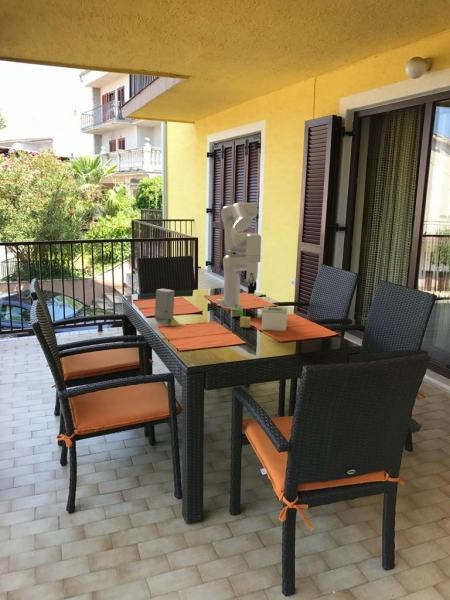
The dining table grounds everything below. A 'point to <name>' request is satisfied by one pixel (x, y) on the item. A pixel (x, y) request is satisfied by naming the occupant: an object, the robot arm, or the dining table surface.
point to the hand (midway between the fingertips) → (252, 291)
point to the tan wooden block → (245, 322)
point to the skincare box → (164, 304)
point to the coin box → (274, 318)
